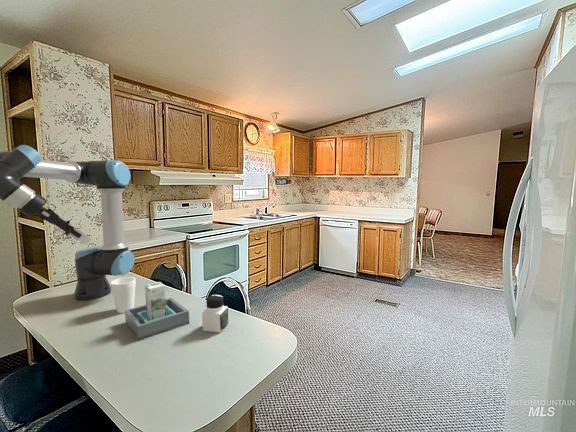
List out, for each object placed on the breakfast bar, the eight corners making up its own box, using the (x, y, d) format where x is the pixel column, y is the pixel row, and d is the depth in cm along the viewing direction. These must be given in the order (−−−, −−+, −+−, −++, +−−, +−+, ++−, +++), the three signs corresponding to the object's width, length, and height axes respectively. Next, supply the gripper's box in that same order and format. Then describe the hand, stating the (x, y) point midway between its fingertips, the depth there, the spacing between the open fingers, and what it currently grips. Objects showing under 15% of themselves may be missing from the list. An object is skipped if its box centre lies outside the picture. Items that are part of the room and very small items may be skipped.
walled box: (125, 322, 117) (124, 310, 116) (171, 308, 129) (171, 297, 128) (139, 340, 104) (138, 326, 103) (189, 323, 115) (188, 311, 115)
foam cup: (115, 316, 122) (112, 286, 120) (110, 309, 129) (108, 280, 127) (140, 310, 128) (138, 280, 127) (134, 303, 135) (132, 275, 134)
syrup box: (161, 315, 120) (159, 280, 118) (167, 320, 116) (165, 284, 114) (146, 320, 116) (144, 284, 114) (152, 325, 112) (149, 288, 110)
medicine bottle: (221, 333, 108) (219, 301, 106) (202, 331, 109) (201, 299, 108) (228, 323, 115) (227, 293, 113) (211, 322, 116) (210, 292, 115)
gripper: (17, 207, 107) (73, 242, 119) (17, 212, 89) (83, 253, 100) (35, 192, 110) (87, 227, 122) (38, 193, 91) (99, 235, 103)
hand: (85, 239), depth 111 cm, fingers open, 13 cm apart
